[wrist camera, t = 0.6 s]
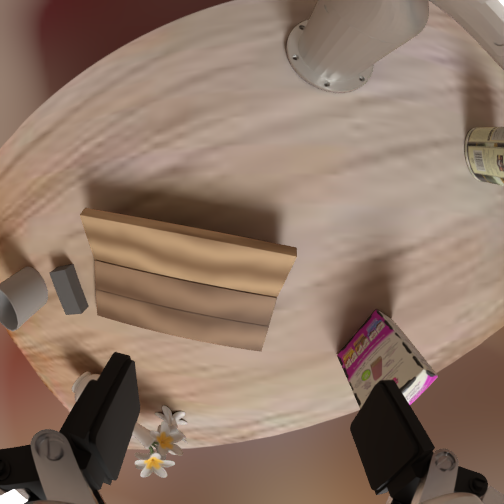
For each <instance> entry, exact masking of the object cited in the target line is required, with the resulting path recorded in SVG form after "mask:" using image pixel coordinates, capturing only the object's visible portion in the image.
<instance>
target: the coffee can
mask: <svg viewBox="0 0 504 504" xmlns="http://www.w3.org/2000/svg"><path fill="white" fill-rule="evenodd" d="M465 157H466V162H467V165H468V168H469V170H470V172H471V174H472V175H473V177H474V178H475V179H477V180H478V181H481V182H489V183H494V184H498V185H503V186H504V127H483V128H479V127H475V128H472V129H471V130H470V131H469V132H468V134H467V137H466V140H465Z"/></svg>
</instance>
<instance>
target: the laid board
mask: <svg viewBox="0 0 504 504" xmlns="http://www.w3.org/2000/svg"><path fill="white" fill-rule="evenodd" d="M95 284H96V302H97V314H98V315H99V316H102V317H105V318H109V319H112V320H115V321H119V322H122V323H126V324H130V325H133V326H137V327H141V328H145V329H149V330H153V331H157V332H161V333H165V334H169V335H174V336H178V337H183V338H187V339H192V340H197V341H202V342H207V343H212V344H218V345H223V346H229V347H235V348H241V349H248V350H254V351H262V347H263V344H264V341H265V337H266V334H267V331H268V327H269V324H270V320H271V317H272V313H273V310H274V306H275V303H276V299H277V297H275V296H269V295H263V294H257V293H252V292H246V291H241V290H235V289H230V288H225V287H219V286H214V285H209V284H204V283H199V282H194V281H189V280H184V279H180V278H175V277H170V276H165V275H161V274H156V273H152V272H147V271H143V270H138V269H134V268H130V267H125V266H121V265H117V264H113V263H109V262H104V261H100V260H95Z"/></svg>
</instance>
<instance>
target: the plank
mask: <svg viewBox="0 0 504 504" xmlns="http://www.w3.org/2000/svg"><path fill="white" fill-rule="evenodd" d="M80 217H81V220H82V223H83V226H84V230H85V233H86V236H87V239H88V242H89V244H90V247H91V250H92V253H93V256H94V258H95V259H96V260H100V261H104V262H109V263H113V264H117V265H121V266H125V267H130V268H134V269H138V270H143V271H147V272H152V273H156V274H161V275H165V276H170V277H175V278H180V279H184V280H189V281H194V282H199V283H204V284H209V285H214V286H219V287H225V288H230V289H235V290H241V291H246V292H252V293H257V294H263V295H269V296H275V297H277V296H278V294H279V292H280V290H281V288H282V286H283V284H284V282H285V280H286V278H287V276H288V274H289V272H290V270H291V268H292V266H293V264H294V261H295V259H296V257H297V248H296V247H291V246H286V245H281V244H276V243H271V242H266V241H261V240H256V239H251V238H246V237H241V236H236V235H230V234H225V233H220V232H215V231H210V230H204V229H199V228H194V227H189V226H183V225H178V224H173V223H167V222H162V221H156V220H151V219H145V218H140V217H134V216H129V215H123V214H118V213H112V212H106V211H101V210H95V209H89V208H85V209H84V210H83V211H82V213H81V214H80Z"/></svg>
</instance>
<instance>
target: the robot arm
mask: <svg viewBox="0 0 504 504" xmlns="http://www.w3.org/2000/svg"><path fill="white" fill-rule="evenodd" d="M429 1H430V2H432V3H433V4H435V5H436V6H437V7H439V8H440V9H441V10H442V11H444V12H445V13H447V14H448V15H449V16H451V17H452V18H453V19H454V20H455V21H456V22H457V23H458V24H459V25H461V26H462V27H463V28H464V29H465V30H466V31H467V32H468V33H469V34H470V35H471V36H472V37H473V38H474V39H475V40H476V41H477V42H478V43H479V44H480V45H481V46H482V48H483V49H484V50H485V51H486V52H487V53H488V54H489V55H490V56H491V57H492V58H493V59H494V61H495V62H496V63H497V64H498V65H499V66H500V67H501V68H502V69H503V70H504V0H429ZM428 16H429V2H428V0H318V2H317V4H316V6H315V8H314V10H313V12H312V14H311V16H310V18H309V19H308V20H305V21H303V22H301V23H299V24H298V25H297V26H295V27H294V28H293V30H292V31H291V33H290V35H289V37H288V40H287V44H286V51H287V56H288V59H289V61H290V64H291V66H292V67H293V69H294V70H295V71H296V73H297V74H298V75H299V76H300V77H301V78H302V79H304V80H305V81H306V82H308V83H309V84H311V85H313V86H314V87H316V88H318V89H321V90H324V91H328V92H333V93H345V92H351V91H353V90H356V89H358V88H359V87H361V86H363V85H364V84H365V83H366V82H367V81H368V80H369V78H370V77H371V74H372V72H373V66H374V64H375V63H376V62H377V61H379V60H380V59H382V58H383V57H385V56H386V55H388V54H389V53H391V52H392V51H394V50H395V49H397V48H399V47H400V46H402V45H403V44H405V43H406V42H408V41H409V40H411V39H412V38H414V37H416V36H417V35H418V34H419V33H421V31H422V30H423V29H424V28H425V26H426V23H427V21H428ZM301 29H302V30H301ZM293 58H295V59H296V60H294V59H293ZM360 80H361V81H360ZM324 84H326V85H327V87H326V86H324ZM139 413H140V402H139V395H138V387H137V379H136V369H135V362H134V361H133V360H131V358H130V356H129V355H125V354H121V353H117V352H114V353H113V355H112V356H111V358H110V360H109V361H108V363H107V365H106V366H105V368H104V369H103V371H102V373H101V374H100V376H99V378H98V379H97V380H94V379H92V380H90V381H89V382H88V383H87V385H86V387H85V388H84V390H83V392H82V393H81V395H80V397H79V398H78V400H77V402H76V403H75V405H74V407H73V408H72V410H71V412H70V414H69V415H68V417H67V419H66V421H65V423H64V424H63V426H62V428H61V430H60V431H59V432H58V431H55V430H51V429H50V430H49V429H45V430H42V431H39V432H38V433H36V434H35V435H34V436H33V438H32V441H31V445H26V446H20V447H14V448H7V449H0V504H106V502H105V501H104V499H103V497H102V495H101V493H100V491H99V490H100V489H101V487H102V484H103V483H106V484H109V485H110V484H111V482H112V480H117V478H118V475H119V472H120V469H121V466H122V463H123V459H124V457H125V453H126V450H127V448H128V445H129V442H130V439H131V436H132V433H133V430H134V427H135V424H136V422H137V419H138V416H139ZM350 430H351V433H352V436H353V439H354V441H355V444H356V447H357V449H358V453H359V455H360V458H361V461H362V463H363V466H364V469H365V472H366V475H367V478H368V481H369V483H370V486H371V488H372V490H375V493H376V495H379V494H383V493H386V492H388V491H389V494H390V496H389V498H388V500H387V503H386V504H504V495H503V494H502V493H500V492H499V491H497V490H496V489H494V488H493V487H491V486H489V487H488V483H487V480H486V478H485V477H484V476H483V475H482V474H480V473H477V472H474V471H471V470H468V469H465V468H462V467H459V466H458V459H457V457H456V455H455V454H454V453H453V452H452V451H450V450H448V449H439V450H437V451H435V453H433V449H434V448H435V447H434V445H433V444H432V442H431V440H430V438H429V437H428V435H427V433H426V431H425V430H424V428H423V426H422V425H421V423H420V421H419V420H418V418H417V416H416V415H415V413H414V411H413V410H412V408H411V407H410V405H409V403H408V402H407V400H406V398H405V397H404V395H403V394H402V392H401V390H400V389H399V387H398V386H397V384H396V383H395V381H394V380H380V381H379V382H378V383H377V384H375V386H374V387H373V389H372V391H371V392H370V394H369V396H368V398H367V399H366V401H365V403H364V404H363V406H362V408H361V409H360V411H359V413H358V414H357V416H356V417H355V419H354V420H353V422H352V424H351V427H350Z"/></svg>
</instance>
